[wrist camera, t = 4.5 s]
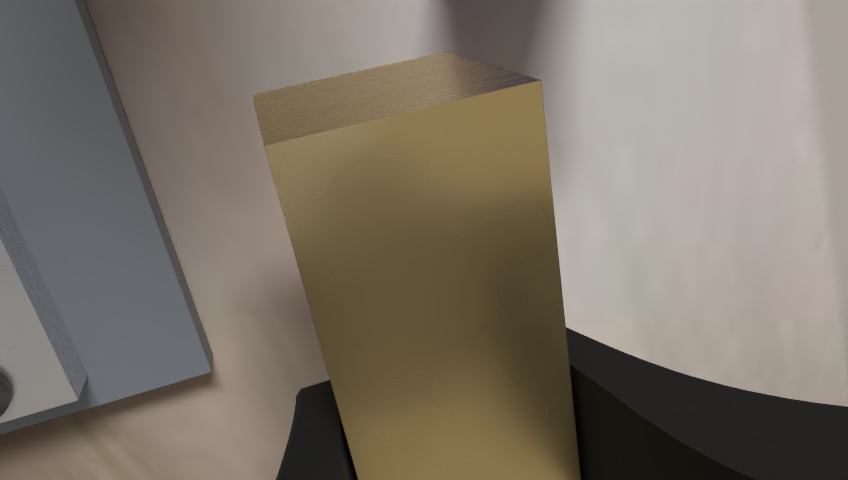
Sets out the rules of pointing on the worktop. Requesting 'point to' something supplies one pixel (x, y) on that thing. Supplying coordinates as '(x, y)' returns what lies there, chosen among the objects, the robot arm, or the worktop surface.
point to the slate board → (90, 210)
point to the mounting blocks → (31, 333)
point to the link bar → (430, 265)
